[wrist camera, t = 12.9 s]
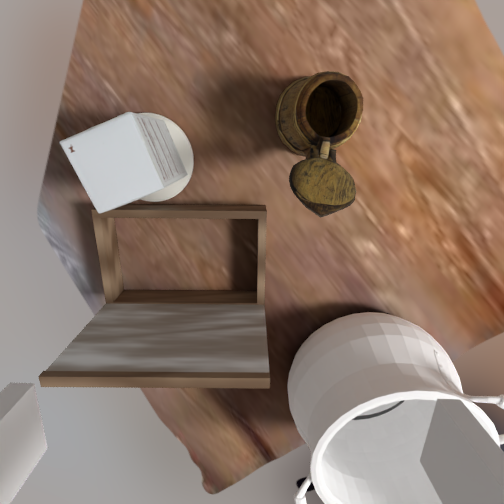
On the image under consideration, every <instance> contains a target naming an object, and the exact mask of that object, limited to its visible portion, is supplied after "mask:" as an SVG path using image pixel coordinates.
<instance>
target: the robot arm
mask: <svg viewBox="0 0 504 504" xmlns="http://www.w3.org/2000/svg"><path fill="white" fill-rule="evenodd" d="M46 449H47V443H46V438H45V433H44V428H43V423H42V419H41V414H40V409H39V404H38V399H37V394H36V390H35V384H31V383H28V384H27V383H10V384H9V385H7V387H6V388H4V390H2V391H1V392H0V504H10V503H11V502H12V500H13V499H14V497H15V496H16V494H17V493H18V491H19V490H20V488H21V487H22V485H23V484H24V482H25V481H26V479H27V478H28V476H29V475H30V473H31V472H32V470H33V469H34V468H35V466H36V465H37V463H38V462H39V460H40V459H41V457H42V456H43V454H44V453H45V451H46ZM420 463H421V465H422V466H423V468H424V470H425V472H426V474H427V476H428V478H429V480H430V481H431V483H432V485H433V487H434V489H435V491H436V493H437V495H438V497H439V498H440V500H441V502H442V504H504V452H503V451H502V450H501V448H500V447H499V446H498V445H497V444H496V442H495V441H494V440H493V439H492V438H491V436H490V435H489V434H488V433H487V431H486V430H485V429H484V428H483V427H482V425H481V424H480V423H479V422H478V420H477V419H476V418H475V417H474V416H473V414H472V413H471V412H470V411H469V409H468V408H467V407H466V406H465V405H464V403H463V402H462V401H461V400H460V399H437V401H436V405H435V408H434V412H433V415H432V419H431V422H430V426H429V429H428V433H427V436H426V440H425V443H424V447H423V450H422V454H421V457H420Z"/></svg>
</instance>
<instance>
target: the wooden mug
mask: <svg viewBox="0 0 504 504" xmlns="http://www.w3.org/2000/svg"><path fill="white" fill-rule="evenodd" d="M362 111H363V97H362V94H361V92H360V90H359V88H358V87H357V85H356V84H355V82H354V81H353V80H352V79H351V78H350V77H349V76H346V75H344V74H342V73H339V72H329V71H327V72H321V73H317V74H315V75H313V76H311V77H304V78H301V79H299V80H296V81H294V82H293V83H291V84H290V85H289V86H288V87H286V89H285V90H284V91H283V92H282V94H281V95H280V97H279V100H278V103H277V106H276V113H275V124H276V128H277V132H278V135H279V137H280V138H281V140H282V142H283V143H284V144H285V145H286V146H287V147H288V148H289V149H290V150H292V151H293V152H295V153H297V154H298V155H301V156H306V159H305V160H302V161H300V162H298V163H297V164H295V165H294V166H293V168H292V170H291V172H290V176H289V182H290V187H291V189H292V191H293V193H294V194H295V195H296V197H297V198H298V199H299V200H300V201H301V202H302V204H303V205H304V206H305V207H306V208H308V209H309V210H311V211H312V212H313V213H315V214H316V215H318V216H319V217H320V218H321V217H324V216H326V215H329V214H332V213H334V212H337V211H339V210H341V209H344V208H346V207H348V206H350V205H351V204H352V203H353V202H354V200H355V194H356V189H355V183H354V180H353V178H352V177H351V175H350V174H349V173H348V172H347V171H346V170H345V169H344V168H342V167H341V166H340V165H339V164H337V163H336V150H333V149H334V148H336V147H338V146H340V145H342V144H343V143H345V142H346V141H347V140H349V139H350V137H351V136H352V135H353V133H354V132H355V131H356V129H357V127H358V125H359V124H360V121H361V116H362Z"/></svg>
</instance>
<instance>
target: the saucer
mask: <svg viewBox="0 0 504 504" xmlns="http://www.w3.org/2000/svg"><path fill="white" fill-rule="evenodd" d="M138 114H140V115H144V116H148V117H152V118H156V119H160V120H164V121H165V123H166V126H167V128H168V130H169V133H170V135H171V137H172V139H173V142H174V144H175V146H176V149H177V151H178V153H179V156H180V158H181V160H182V163H183V165H184V167H185V169H186V172H187V174H188V175H187V176H185V177H184V178H182V179H180V180H178V181H177V182H175V183H173V184H171V185H169V186H167V187H165V188H164V189H162V190H159V191H157V192H155V193H153V194H150V195H148V196H146V197H143V198H141V200H145V201H151V202H158V201H164V200H167V199H170V198H172V197H174V196H176V195H177V194H178V193H180V192H181V191H182V190H183V189H184V188H185V187H186V185H187V184H188V182H189V181H190V178H191V176H192V173H193V168H194V155H193V150H192V146H191V144H190V141H189V139H188V138H187V136H186V134H185V133H184V132H183V130H182V129H181V128H180V127H179V126H178V125H177V124H176V123H174V122H173V121H171V120H170V119H168V118H166V117H164V116H161V115H158V114H153V113H138Z"/></svg>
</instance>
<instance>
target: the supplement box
mask: <svg viewBox="0 0 504 504" xmlns="http://www.w3.org/2000/svg"><path fill="white" fill-rule="evenodd" d="M60 145H61V146H62V148H63V150H64V152H65V153H66V155H67V157H68V159H69V161H70V163H71V164H72V166H73V168H74V170H75V172H76V174H77V175H78V177H79V179H80V181H81V183H82V185H83V186H84V188H85V190H86V192H87V194H88V196H89V197H90V199H91V201H92V203H93V205H94V207H95V208H96V210H97V212H98V213H99V214H100V213H104V212H106V211H109V210H112V209H115V208H117V207H120V206H123V205H126V204H128V203H131V202H133V201H136V200H138V199H141V198H143V197H146V196H148V195H150V194H153V193H155V192H157V191H159V190H162V189H164V188H165V187H167V186H169V185H171V184H173V183H175V182H177V181H178V180H180V179H182V178H184V177H185V176H187V175H188V174H187V172H186V169H185V167H184V165H183V163H182V160H181V158H180V156H179V153H178V151H177V149H176V146H175V144H174V142H173V139H172V137H171V135H170V133H169V130H168V128H167V126H166V123H165V121H164V120H160V119H156V118H152V117H148V116H144V115H140V114H136V113H132V112H127V113H125V114H122V115H120V116H118V117H116V118H113V119H111V120H109V121H106V122H104V123H102V124H99V125H97V126H94V127H92V128H89V129H88V130H86V131H83V132H81V133H79V134H76V135H74V136H71V137H69V138H67V139H64V140H62V141H60Z"/></svg>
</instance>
